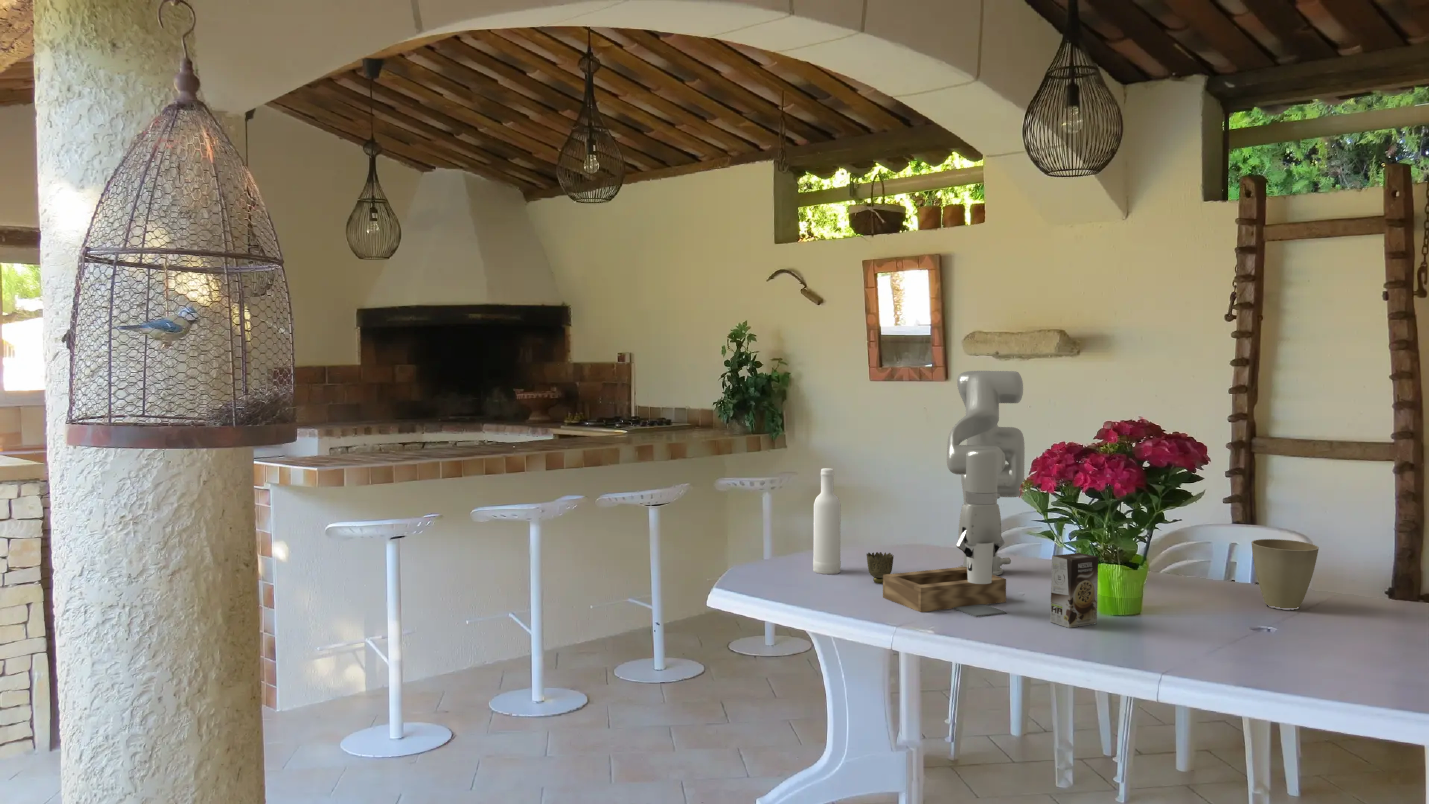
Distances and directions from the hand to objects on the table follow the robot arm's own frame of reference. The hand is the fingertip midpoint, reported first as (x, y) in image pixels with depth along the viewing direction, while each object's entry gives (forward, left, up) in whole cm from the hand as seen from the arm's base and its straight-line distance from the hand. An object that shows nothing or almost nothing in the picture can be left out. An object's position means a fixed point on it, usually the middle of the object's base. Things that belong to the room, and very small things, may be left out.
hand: (980, 572), depth 267 cm
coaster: (0, 0, -10) cm, 10 cm away
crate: (+1, -14, -10) cm, 17 cm away
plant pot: (-72, +27, -10) cm, 78 cm away
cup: (+5, -38, -10) cm, 39 cm away
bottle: (+11, -57, -10) cm, 59 cm away
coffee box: (-13, +18, -10) cm, 25 cm away
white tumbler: (0, 0, -2) cm, 2 cm away
